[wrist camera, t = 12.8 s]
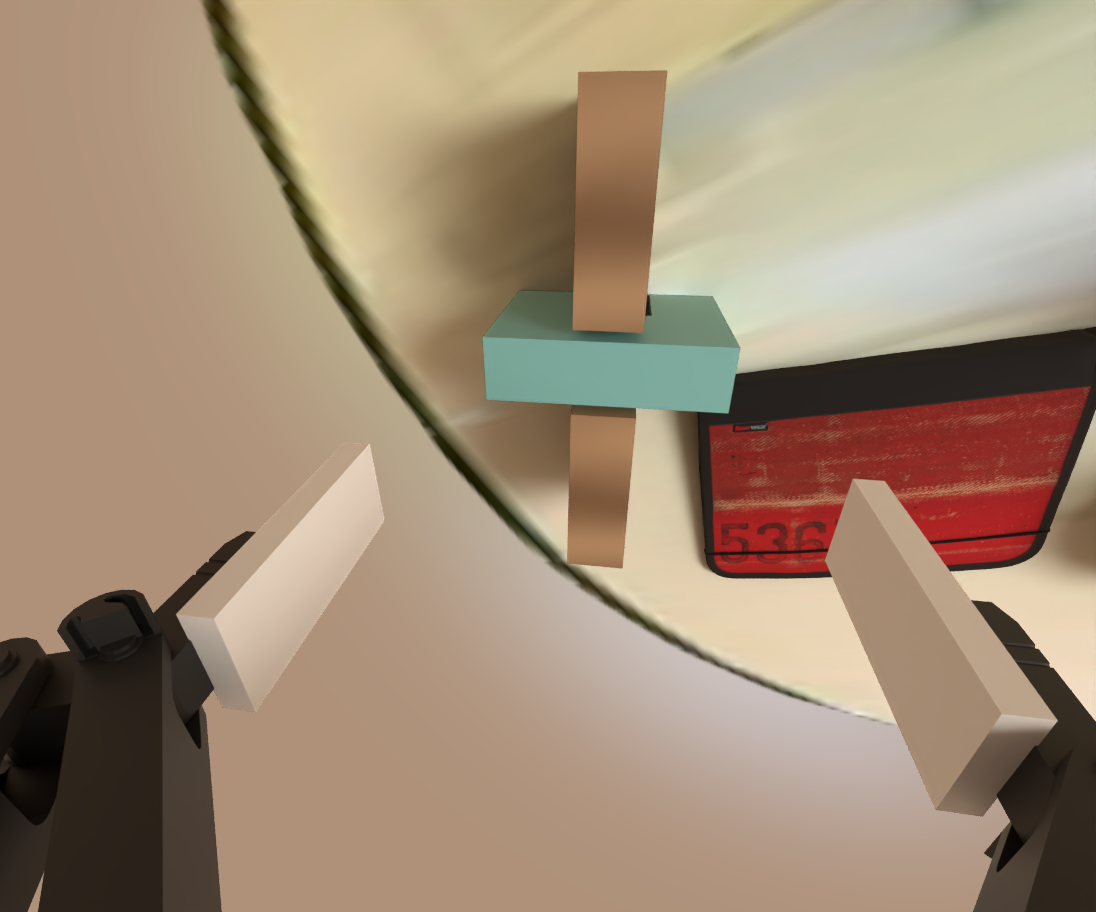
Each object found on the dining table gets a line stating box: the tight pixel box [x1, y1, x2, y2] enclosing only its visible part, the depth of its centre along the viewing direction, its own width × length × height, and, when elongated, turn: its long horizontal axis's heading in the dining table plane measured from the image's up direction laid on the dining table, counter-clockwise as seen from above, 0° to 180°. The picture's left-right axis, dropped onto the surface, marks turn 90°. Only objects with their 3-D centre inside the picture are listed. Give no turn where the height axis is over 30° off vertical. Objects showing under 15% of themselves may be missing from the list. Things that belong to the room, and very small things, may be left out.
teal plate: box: [483, 290, 740, 413], centre depth 28 cm, size 11×3×9 cm, turn 90°
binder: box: [698, 327, 1096, 579], centre depth 34 cm, size 16×2×21 cm
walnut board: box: [567, 71, 667, 568], centre depth 28 cm, size 22×3×9 cm, turn 0°
